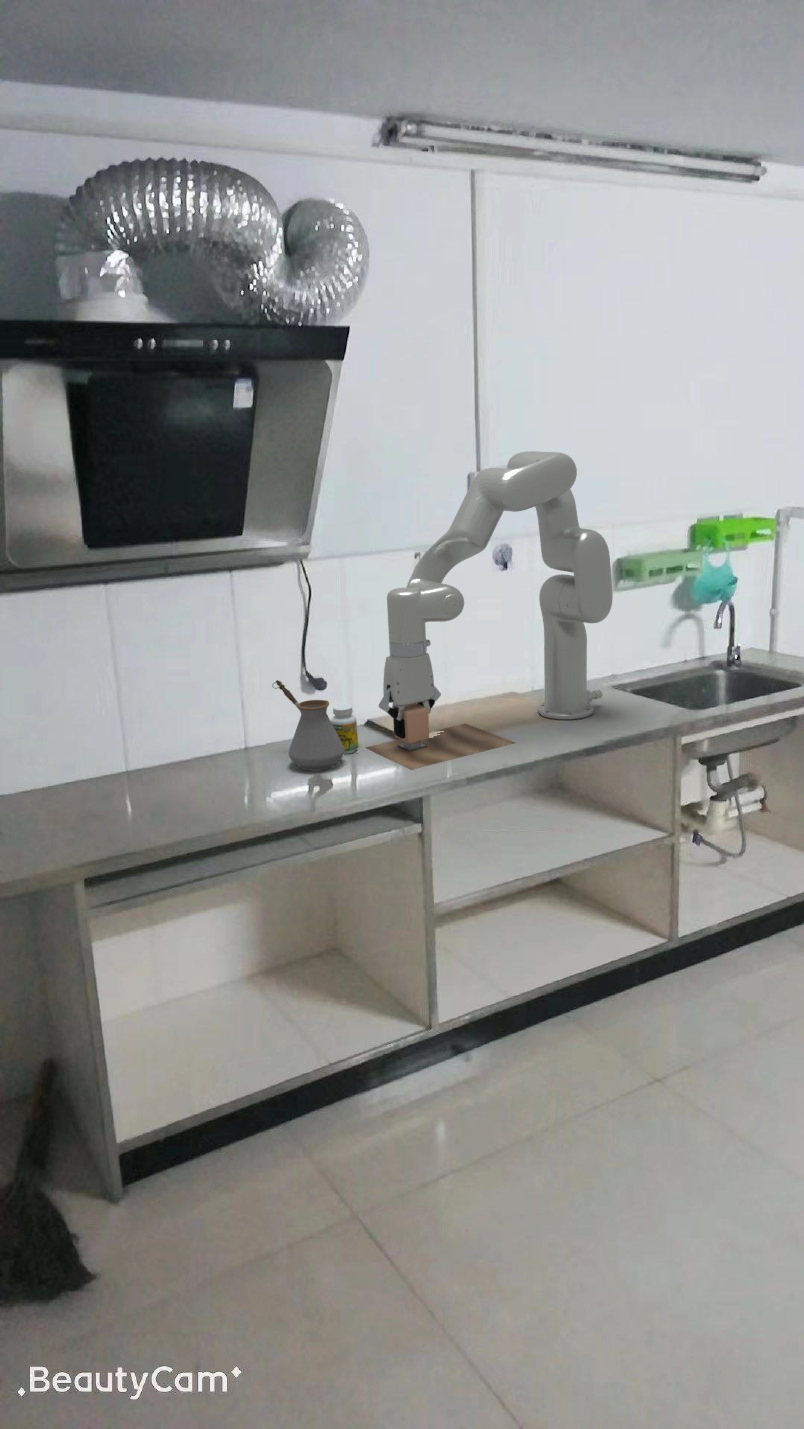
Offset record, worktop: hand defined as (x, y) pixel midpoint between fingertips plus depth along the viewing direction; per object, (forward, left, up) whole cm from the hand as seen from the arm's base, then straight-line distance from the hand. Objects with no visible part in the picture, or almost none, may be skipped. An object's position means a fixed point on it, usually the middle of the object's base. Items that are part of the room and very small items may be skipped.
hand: (411, 733), depth 220 cm
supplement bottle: (+11, -9, -4) cm, 15 cm away
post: (0, 0, -4) cm, 4 cm away
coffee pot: (+20, -10, -4) cm, 23 cm away
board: (-5, +3, -4) cm, 7 cm away
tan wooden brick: (0, 0, -1) cm, 1 cm away
